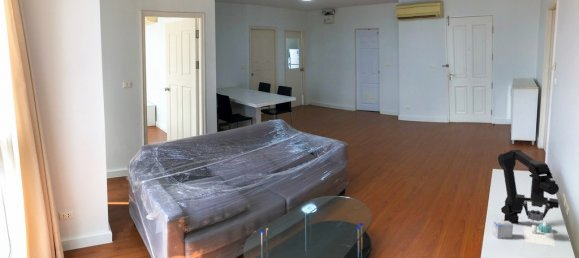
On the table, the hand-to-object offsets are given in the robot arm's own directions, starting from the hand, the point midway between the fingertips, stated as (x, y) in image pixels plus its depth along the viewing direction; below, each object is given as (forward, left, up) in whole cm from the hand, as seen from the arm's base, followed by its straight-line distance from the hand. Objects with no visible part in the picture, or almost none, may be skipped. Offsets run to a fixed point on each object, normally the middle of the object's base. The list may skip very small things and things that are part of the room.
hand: (535, 216), depth 218 cm
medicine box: (-14, -6, -12) cm, 20 cm away
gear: (0, 0, -1) cm, 1 cm away
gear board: (+2, +1, -12) cm, 12 cm away
